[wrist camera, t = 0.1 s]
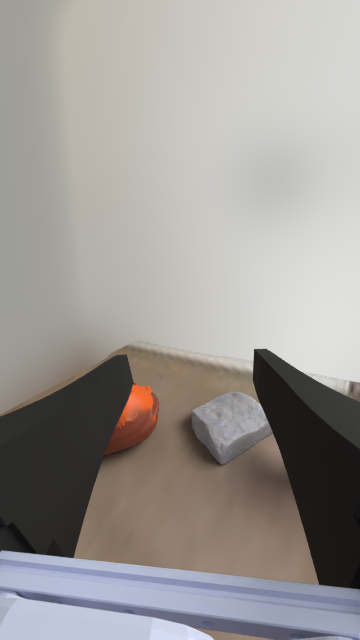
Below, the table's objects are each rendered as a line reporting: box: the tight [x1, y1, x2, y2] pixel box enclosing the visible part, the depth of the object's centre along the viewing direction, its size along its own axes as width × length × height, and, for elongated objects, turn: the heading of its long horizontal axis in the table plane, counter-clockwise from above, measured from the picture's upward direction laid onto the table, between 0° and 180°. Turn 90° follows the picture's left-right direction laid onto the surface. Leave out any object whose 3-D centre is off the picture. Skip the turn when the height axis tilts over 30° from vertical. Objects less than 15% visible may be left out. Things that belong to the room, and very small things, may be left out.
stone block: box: [192, 392, 272, 465], centre depth 32 cm, size 12×5×10 cm
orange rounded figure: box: [104, 382, 159, 455], centre depth 30 cm, size 12×10×11 cm
